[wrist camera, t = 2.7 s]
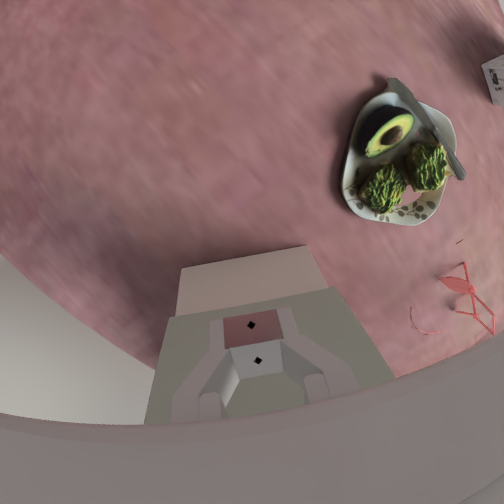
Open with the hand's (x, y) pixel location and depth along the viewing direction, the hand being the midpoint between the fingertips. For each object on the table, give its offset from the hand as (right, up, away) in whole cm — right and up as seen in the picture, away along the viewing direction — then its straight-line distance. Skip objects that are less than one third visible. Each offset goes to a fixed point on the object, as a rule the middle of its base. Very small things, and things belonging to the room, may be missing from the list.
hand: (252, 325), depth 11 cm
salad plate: (+18, +15, +23) cm, 33 cm away
